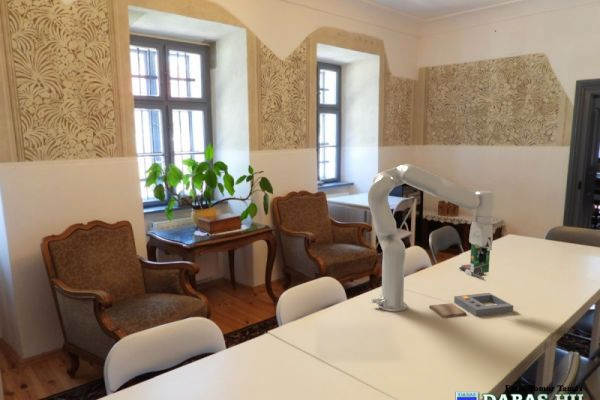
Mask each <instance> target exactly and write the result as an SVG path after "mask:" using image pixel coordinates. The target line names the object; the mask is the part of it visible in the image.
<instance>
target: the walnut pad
mask: <svg viewBox="0 0 600 400" xmlns="http://www.w3.org/2000/svg"><path fill="white" fill-rule="evenodd" d="M428 308H429V309H430V310H431V311H433V312H434V313H436V314H437V315H438V316H440V317H441V318H443V319H444V318H450V317H460V316H462V317H463V316H466V315H467V312H466V311H464V309H463V310H462V309H461V307H458V305H457V306H456V304H454V303H452V302H451V303H450V302H449V303H440V304H434V305H433V304H432V305H429V307H428Z"/></svg>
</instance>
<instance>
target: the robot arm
mask: <svg viewBox="0 0 600 400" xmlns="http://www.w3.org/2000/svg"><path fill="white" fill-rule="evenodd" d="M404 184H406V185H408V186H410V187H412V188H415V189H417V190H420V191H422V192H424V193H426V194H428V195H431V196H433V197H436V198H438V199H441V200H444V201H447V202H449V203H451V204H454V205H456V206H458V207H461V208H463V209H465V210H467V211H468V210H469V211H472V210H473V219H472V222H471V225H470V229H469V237H468V242H469V243H470V244H472V243H474V244H477V246H479V247H481V253H479V262H480V263H484V262H486V256H487V253H488V251H490V252H491V251H493V247H492V246H493V239H494V237H493V236H494V234H493V233H494V232H493V231H494V229H493V214H494V203H495V194H494V192H493V191H489V190H470V189H469V190H468V189H467V188H464V187H462V186H460V185H457V184H455V183H453V182H452V181H449V180H448V179H446V178H444V177H441V176H439V175H436V174H435V173H432V172H430V171H428V170H426V169H423V168H421V167H418V166H416V165H413V164H410V163H405V164H401V165H399V166H396V167H393V168H389V169H386V170H384V171H383V170H382V171H381V172H379V173H376V175H375V176H374V177H373V180H372V183H371V186H370V188H369V190H368V194H367V202H368V207H369V210H370V214H371V216H372V225H373V228H374V231H375V234H376V236H377V240H378V242H379V245H380V247H381V250H382V264H381V295H379V297H377V298H372V299H371V304H376V305H378V307H379V308H380V309H382V310H384V311H387V312H402V311H405V310H406V309H407V307H408V303H407V302H405V301H404V298H405V296H404V295H405V294H404V293H405V289H404V288H405V260H406V246H405V243H404V241H403V240H402V239H401V237H400V235H399V232H398V229H397V221H396V219H395V217H394V214H393V212H392V209H391V205H390V202H389V195H390V193H391V192H392V190H394V188H396V187H399V186H401V185H404ZM483 248H485V249H484V250H483Z"/></svg>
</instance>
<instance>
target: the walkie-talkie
mask: <svg viewBox="0 0 600 400" xmlns="http://www.w3.org/2000/svg"><path fill="white" fill-rule="evenodd" d="M459 269H460V270H461V271H462V272H465V274H466V275H467V276H471V277H477V278H479V279H482V280H484V279H485V277H483V276H482V275H484V274H485V273H475V274H473V273H471V272H470V264H468V263H467V264H461V265H460V266H459Z"/></svg>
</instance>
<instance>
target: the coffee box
mask: <svg viewBox="0 0 600 400" xmlns="http://www.w3.org/2000/svg"><path fill="white" fill-rule="evenodd" d="M470 244H471V243H470ZM470 246H471V247H470V263H469V265H470V272H471V273H473V274H475V273H484V274H487V273H489V271H490V253H491V250H490V251H488V253H487V256H486V262H484V263H480V262H479V253H481V247H479V246H477V244H474V243H472V244H471V245H470ZM484 249H485V248H483V250H484Z"/></svg>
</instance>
